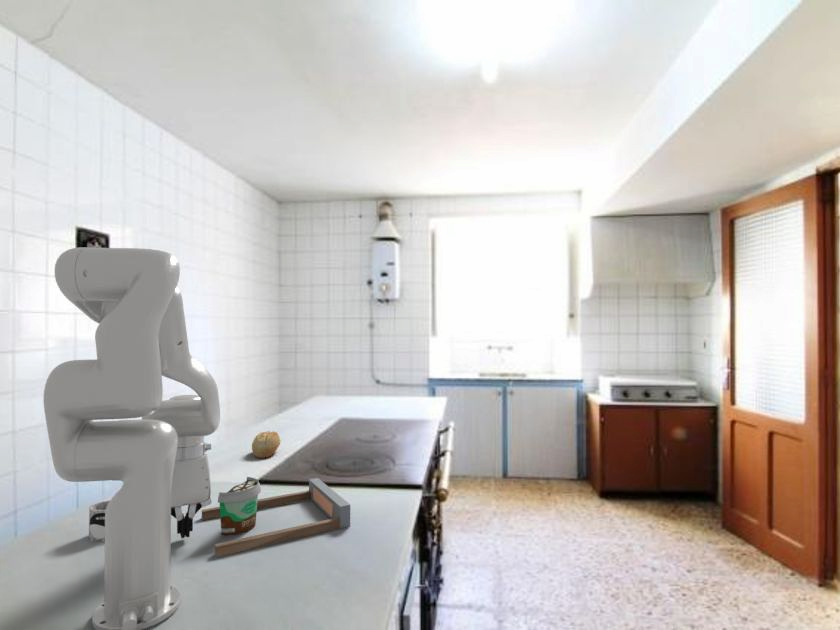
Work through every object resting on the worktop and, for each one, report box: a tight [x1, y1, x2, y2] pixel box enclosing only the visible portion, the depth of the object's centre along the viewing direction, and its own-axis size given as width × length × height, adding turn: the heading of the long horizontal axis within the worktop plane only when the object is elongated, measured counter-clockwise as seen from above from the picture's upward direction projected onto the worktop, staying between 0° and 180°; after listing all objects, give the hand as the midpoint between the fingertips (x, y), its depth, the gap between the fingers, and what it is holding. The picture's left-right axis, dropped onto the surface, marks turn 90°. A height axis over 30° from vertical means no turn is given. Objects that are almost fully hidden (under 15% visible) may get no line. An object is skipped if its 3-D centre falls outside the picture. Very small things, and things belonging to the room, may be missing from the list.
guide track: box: [201, 489, 341, 558], centre depth 116 cm, size 23×27×2 cm
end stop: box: [308, 477, 351, 529], centre depth 124 cm, size 23×3×5 cm, turn 31°
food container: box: [217, 476, 262, 537], centre depth 113 cm, size 12×6×10 cm, turn 168°
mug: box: [88, 499, 111, 542], centre depth 110 cm, size 10×7×7 cm
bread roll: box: [251, 430, 281, 459], centre depth 178 cm, size 10×15×8 cm, turn 8°
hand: (184, 535), depth 107 cm, fingers closed
